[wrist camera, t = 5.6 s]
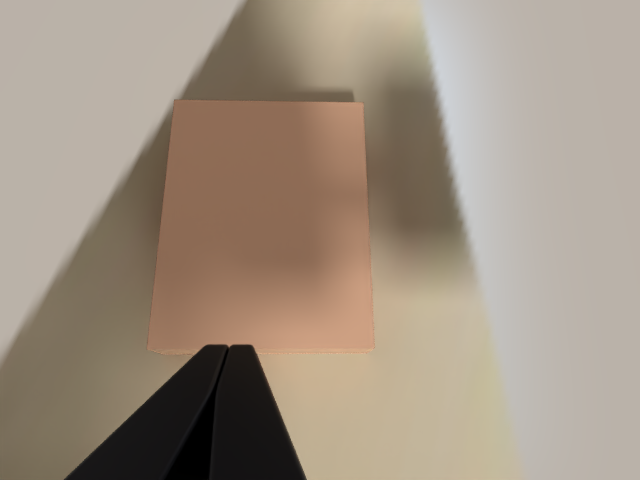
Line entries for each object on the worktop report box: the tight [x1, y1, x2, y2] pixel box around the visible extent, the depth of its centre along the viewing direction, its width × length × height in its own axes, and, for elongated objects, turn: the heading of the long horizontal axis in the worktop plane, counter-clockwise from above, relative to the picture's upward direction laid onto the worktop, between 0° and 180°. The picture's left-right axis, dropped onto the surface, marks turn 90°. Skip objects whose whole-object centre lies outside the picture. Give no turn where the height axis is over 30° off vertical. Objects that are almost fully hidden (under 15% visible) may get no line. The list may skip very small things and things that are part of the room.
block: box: [147, 100, 375, 354], centre depth 17 cm, size 2×7×9 cm
